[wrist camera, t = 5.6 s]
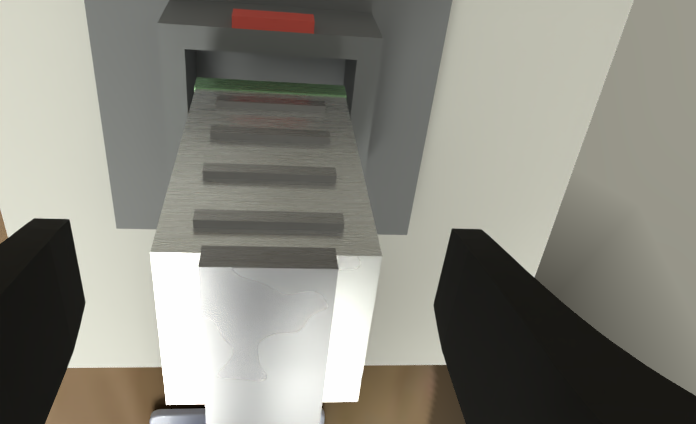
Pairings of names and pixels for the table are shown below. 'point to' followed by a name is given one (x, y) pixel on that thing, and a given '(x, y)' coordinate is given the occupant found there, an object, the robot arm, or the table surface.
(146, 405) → the table surface
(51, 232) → the robot arm
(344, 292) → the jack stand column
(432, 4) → the jack stand base
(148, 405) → the table surface
